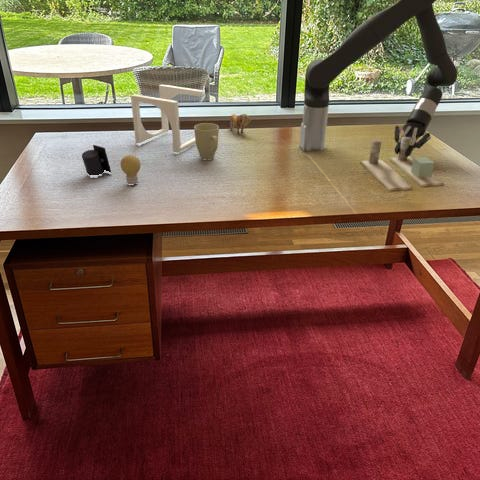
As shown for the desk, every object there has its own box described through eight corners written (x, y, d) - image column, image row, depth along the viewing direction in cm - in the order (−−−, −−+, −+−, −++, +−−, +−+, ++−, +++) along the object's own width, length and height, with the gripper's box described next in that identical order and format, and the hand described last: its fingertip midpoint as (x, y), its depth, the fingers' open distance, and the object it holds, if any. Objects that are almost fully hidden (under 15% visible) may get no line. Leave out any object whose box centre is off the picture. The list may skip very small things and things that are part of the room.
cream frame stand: (165, 131, 210) (161, 84, 200) (205, 139, 202) (203, 90, 192) (136, 146, 195) (130, 95, 184) (177, 154, 187) (174, 102, 176)
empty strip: (389, 190, 159) (393, 165, 154) (360, 163, 179) (364, 139, 174) (412, 189, 160) (417, 163, 155) (381, 161, 180) (385, 138, 176)
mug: (190, 161, 181) (188, 129, 175) (201, 152, 189) (200, 121, 183) (216, 165, 178) (216, 133, 172) (227, 156, 186) (227, 125, 180)
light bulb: (145, 181, 165) (143, 153, 160) (136, 189, 160) (133, 160, 154) (129, 179, 166) (126, 151, 161) (119, 186, 161) (115, 158, 156)
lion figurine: (252, 135, 207) (252, 114, 203) (242, 137, 205) (242, 116, 200) (232, 126, 217) (232, 106, 213) (222, 128, 215) (222, 107, 210)
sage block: (417, 177, 166) (420, 163, 164) (411, 171, 170) (413, 158, 168) (431, 176, 167) (434, 162, 164) (424, 170, 171) (427, 157, 169)
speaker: (105, 168, 173) (98, 141, 167) (112, 174, 170) (106, 147, 163) (84, 175, 170) (77, 148, 164) (91, 182, 166) (84, 154, 160)
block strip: (421, 186, 162) (426, 161, 157) (389, 159, 182) (393, 137, 177) (443, 184, 163) (449, 160, 158) (409, 158, 183) (414, 135, 179)
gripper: (402, 104, 180) (381, 144, 179) (439, 112, 172) (417, 154, 171) (406, 115, 187) (385, 154, 185) (442, 123, 179) (421, 164, 177)
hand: (401, 154), depth 178 cm, fingers closed on block strip, 3 cm apart
